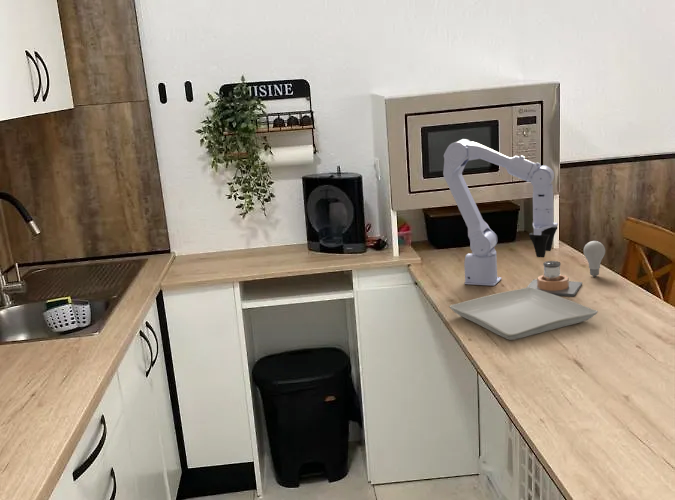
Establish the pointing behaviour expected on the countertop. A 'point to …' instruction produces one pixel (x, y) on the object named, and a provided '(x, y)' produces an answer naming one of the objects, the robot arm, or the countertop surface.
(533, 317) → the square plate
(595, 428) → the countertop surface
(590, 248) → the lightbulb
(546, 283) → the duct flange
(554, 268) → the silver metal cylinder
